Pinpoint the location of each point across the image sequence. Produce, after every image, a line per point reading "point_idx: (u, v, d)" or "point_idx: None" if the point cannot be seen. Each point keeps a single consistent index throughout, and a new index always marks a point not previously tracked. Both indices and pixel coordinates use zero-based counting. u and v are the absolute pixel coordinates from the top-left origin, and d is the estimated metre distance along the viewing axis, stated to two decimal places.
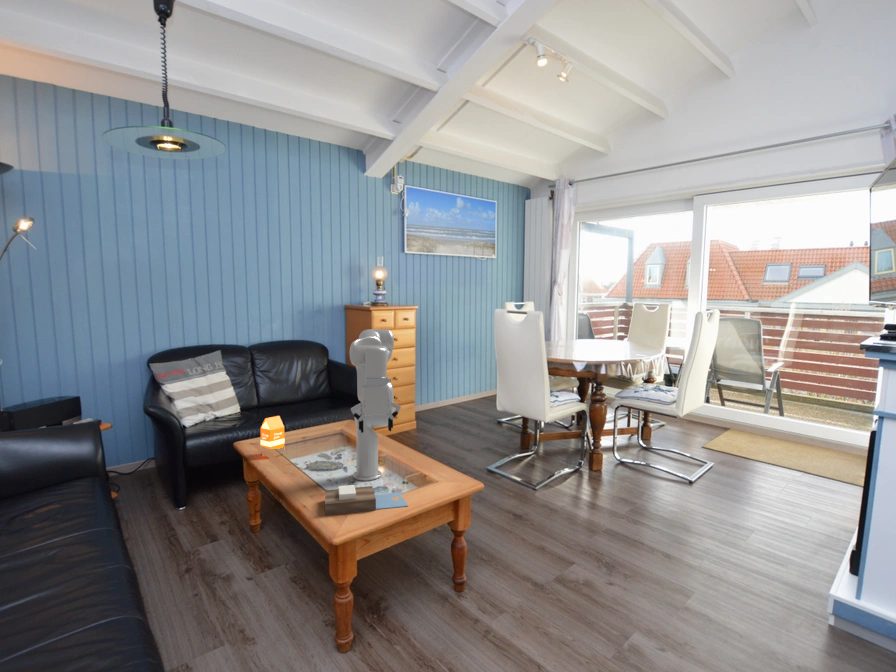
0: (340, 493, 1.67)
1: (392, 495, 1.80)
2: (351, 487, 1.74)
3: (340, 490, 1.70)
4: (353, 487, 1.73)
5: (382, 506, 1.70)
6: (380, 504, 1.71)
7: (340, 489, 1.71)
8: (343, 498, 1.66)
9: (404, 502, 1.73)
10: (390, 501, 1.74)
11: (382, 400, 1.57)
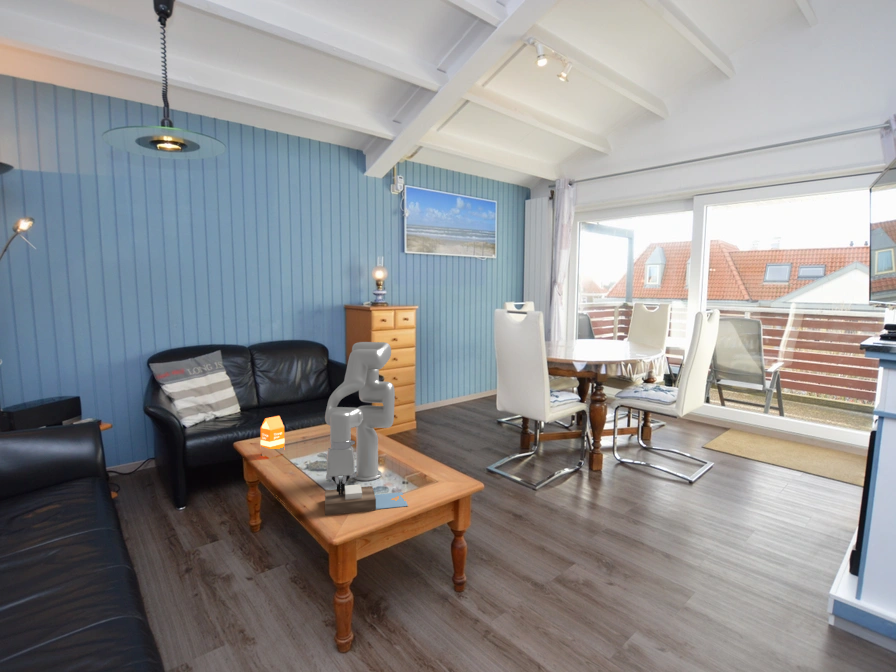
0: (346, 492, 1.68)
1: (392, 495, 1.80)
2: (357, 486, 1.74)
3: (346, 489, 1.71)
4: (359, 487, 1.74)
5: (382, 506, 1.70)
6: (380, 504, 1.71)
7: (346, 488, 1.72)
8: (349, 497, 1.67)
9: (404, 502, 1.73)
10: (390, 501, 1.74)
11: (346, 462, 1.68)
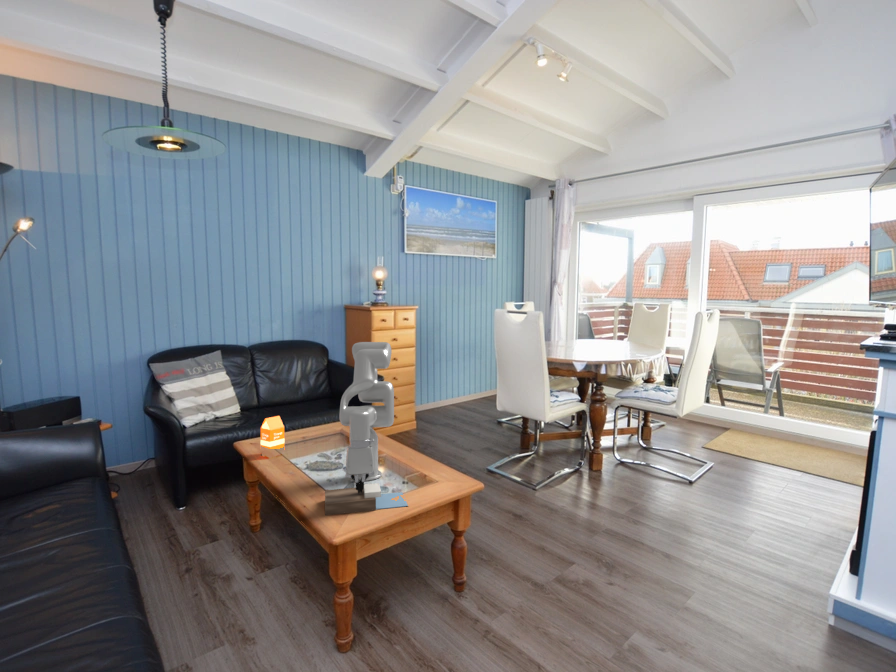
0: (365, 491, 1.69)
1: (392, 495, 1.80)
2: (376, 485, 1.75)
3: (365, 488, 1.72)
4: (378, 485, 1.75)
5: (382, 506, 1.70)
6: (380, 504, 1.71)
7: (365, 487, 1.73)
8: (368, 496, 1.68)
9: (404, 502, 1.73)
10: (390, 501, 1.74)
11: (365, 460, 1.70)
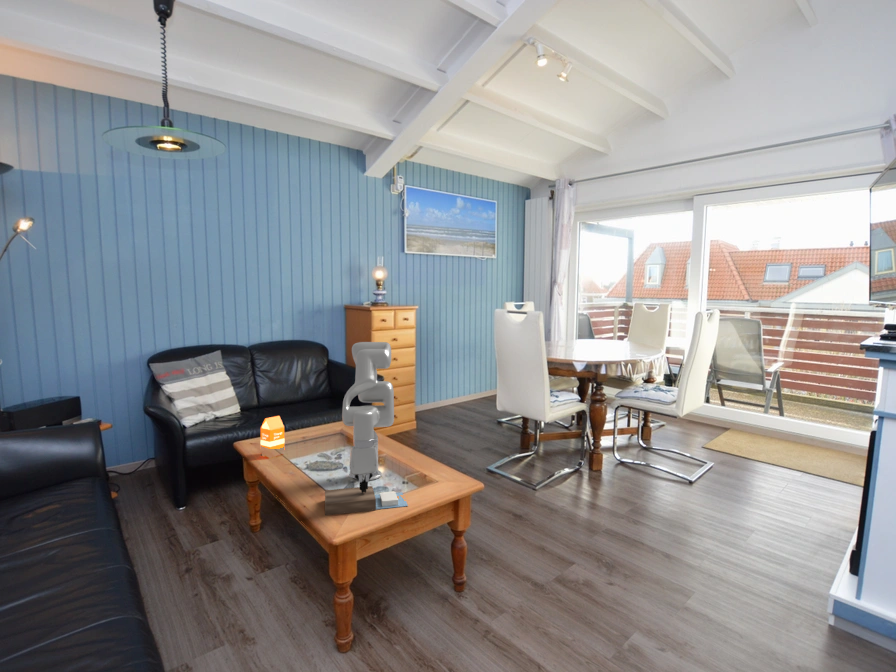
0: None
1: None
2: None
3: None
4: None
5: None
6: (380, 504, 1.71)
7: None
8: (394, 501, 1.70)
9: (404, 502, 1.73)
10: None
11: (369, 460, 1.70)
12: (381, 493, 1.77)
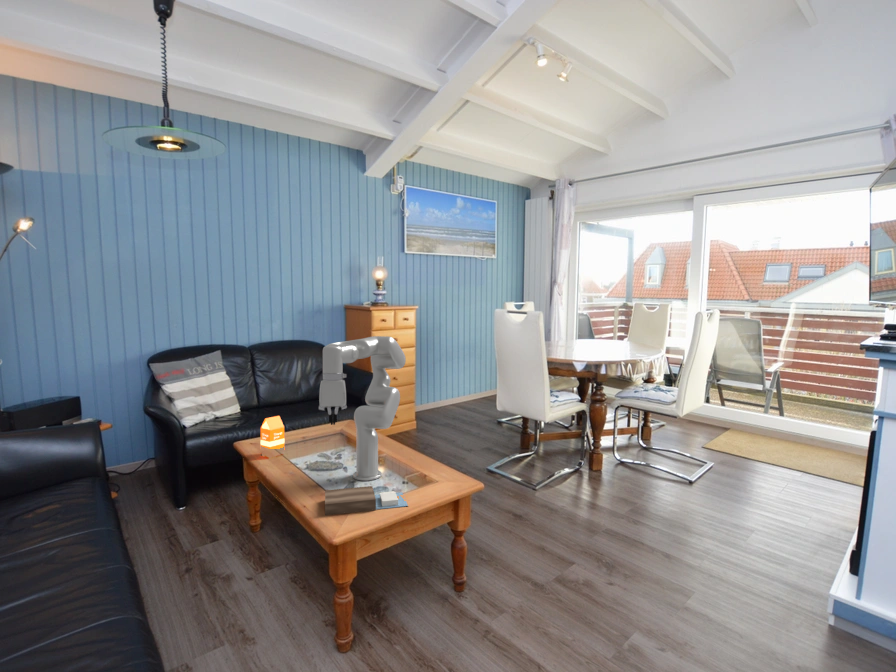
0: None
1: None
2: None
3: None
4: None
5: None
6: (380, 504, 1.71)
7: None
8: (394, 501, 1.70)
9: (404, 502, 1.73)
10: None
11: (338, 393, 1.76)
12: (381, 493, 1.77)
